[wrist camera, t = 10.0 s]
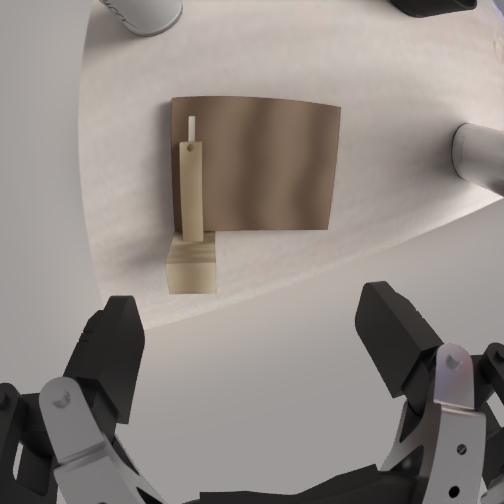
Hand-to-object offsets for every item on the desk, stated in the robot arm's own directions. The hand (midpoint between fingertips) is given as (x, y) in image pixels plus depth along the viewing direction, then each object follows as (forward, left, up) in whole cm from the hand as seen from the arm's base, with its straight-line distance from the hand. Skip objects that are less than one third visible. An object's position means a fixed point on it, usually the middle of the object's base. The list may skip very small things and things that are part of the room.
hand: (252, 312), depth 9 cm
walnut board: (-3, -2, -22) cm, 22 cm away
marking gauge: (+3, +2, -22) cm, 22 cm away
